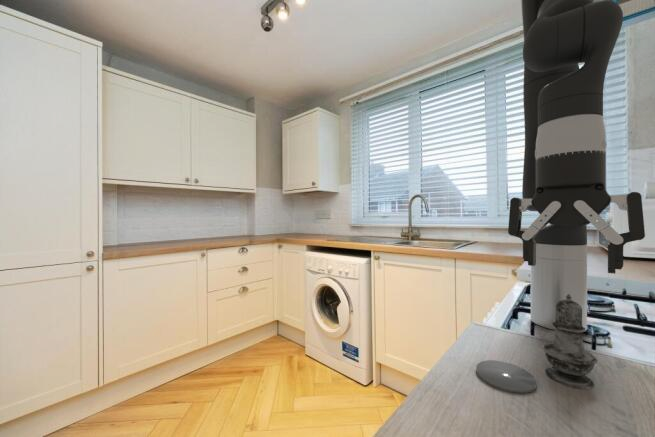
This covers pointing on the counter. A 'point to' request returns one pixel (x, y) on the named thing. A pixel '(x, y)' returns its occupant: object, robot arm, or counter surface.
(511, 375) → the coaster
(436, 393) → the counter surface
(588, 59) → the robot arm
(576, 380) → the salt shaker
